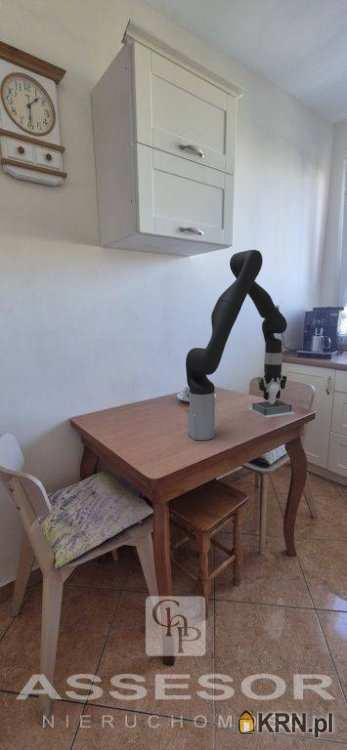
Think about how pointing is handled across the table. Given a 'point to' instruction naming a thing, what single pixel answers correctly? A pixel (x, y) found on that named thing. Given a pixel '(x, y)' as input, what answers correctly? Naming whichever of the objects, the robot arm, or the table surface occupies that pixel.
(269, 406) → the grey flat square tray
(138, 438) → the table surface
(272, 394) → the lightbulb
